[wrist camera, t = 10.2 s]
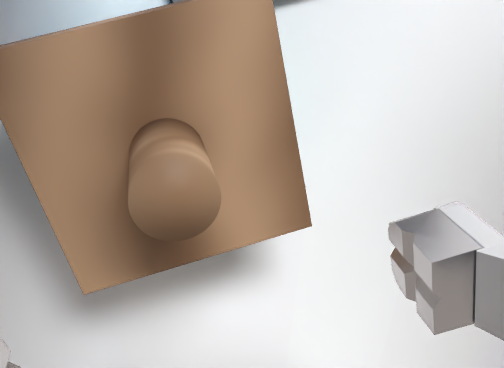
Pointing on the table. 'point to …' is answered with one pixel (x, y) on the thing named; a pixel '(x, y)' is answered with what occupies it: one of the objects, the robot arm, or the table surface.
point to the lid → (157, 136)
